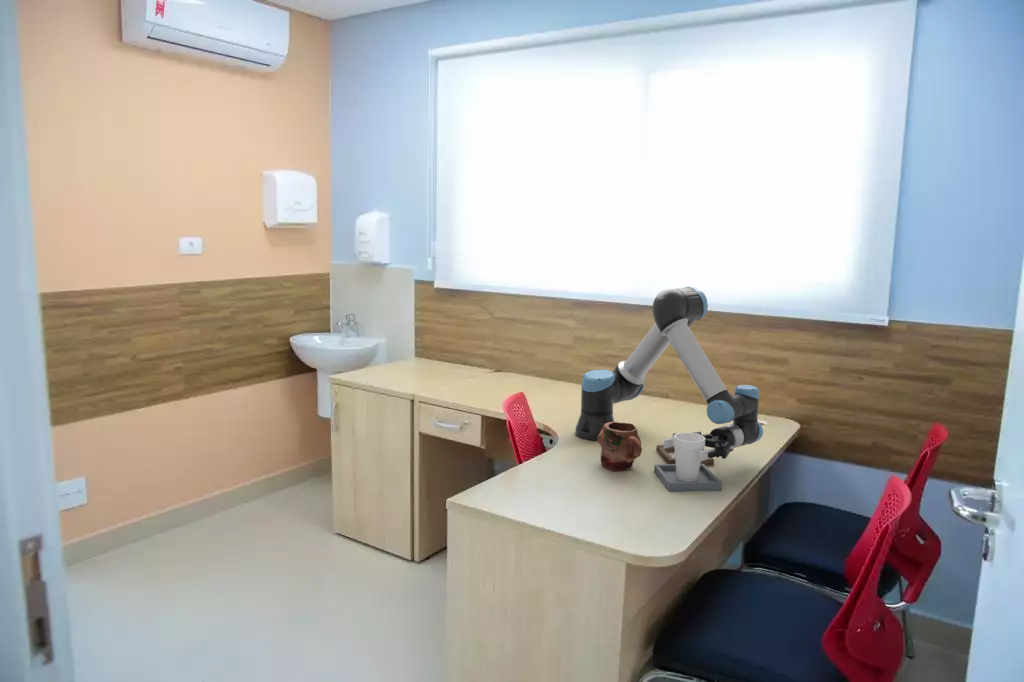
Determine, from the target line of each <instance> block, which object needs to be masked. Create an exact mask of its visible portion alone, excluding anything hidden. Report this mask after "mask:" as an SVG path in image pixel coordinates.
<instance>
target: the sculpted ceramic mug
mask: <svg viewBox="0 0 1024 682" xmlns="http://www.w3.org/2000/svg"><path fill="white" fill-rule="evenodd" d="M596 441H597V443H598V444H599V445H600V447H601V453H600V462H601V466H602V467H603V468H604V469H606V470H608V471H611V472H612V471H613V472H623V471H627V470H630V469H631V468H632V467H633V464H634V461H635V460H636V459H638V458H640V457H641V454H642V451H643V447H642V440H641V437H640V436H639V434H638V429H637V427H636V426H635V425H634V424H633V423H630V422H619V421H614V422H609V423H605V424H604V426H603V428H602V430H601V432H600V434H599V435H598V437H597V440H596Z"/></svg>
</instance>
